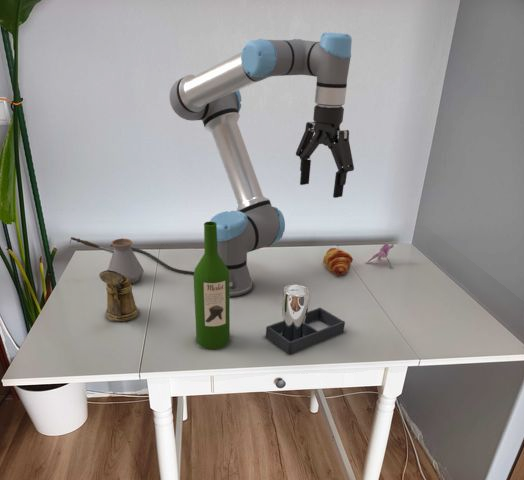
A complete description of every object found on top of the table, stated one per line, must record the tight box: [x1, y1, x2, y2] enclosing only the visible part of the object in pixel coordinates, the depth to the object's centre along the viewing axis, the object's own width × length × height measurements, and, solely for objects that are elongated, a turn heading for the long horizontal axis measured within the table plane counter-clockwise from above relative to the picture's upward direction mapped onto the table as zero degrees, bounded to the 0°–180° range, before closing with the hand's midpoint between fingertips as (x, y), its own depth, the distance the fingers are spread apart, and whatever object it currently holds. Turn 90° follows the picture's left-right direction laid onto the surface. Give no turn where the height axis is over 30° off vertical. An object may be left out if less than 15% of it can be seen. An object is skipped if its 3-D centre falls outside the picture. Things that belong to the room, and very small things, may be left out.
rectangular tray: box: [265, 307, 346, 355], centre depth 138 cm, size 10×20×4 cm, turn 127°
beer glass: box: [281, 284, 310, 342], centre depth 132 cm, size 7×7×15 cm
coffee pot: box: [69, 236, 144, 284], centre depth 159 cm, size 21×12×15 cm, turn 100°
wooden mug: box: [98, 269, 139, 323], centre depth 138 cm, size 9×14×18 cm, turn 2°
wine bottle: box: [193, 221, 231, 350], centre depth 126 cm, size 9×9×32 cm
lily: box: [366, 240, 399, 268], centre depth 180 cm, size 12×12×10 cm
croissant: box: [322, 247, 353, 276], centre depth 177 cm, size 21×10×8 cm, turn 1°
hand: (320, 190), depth 137 cm, fingers open, 13 cm apart
